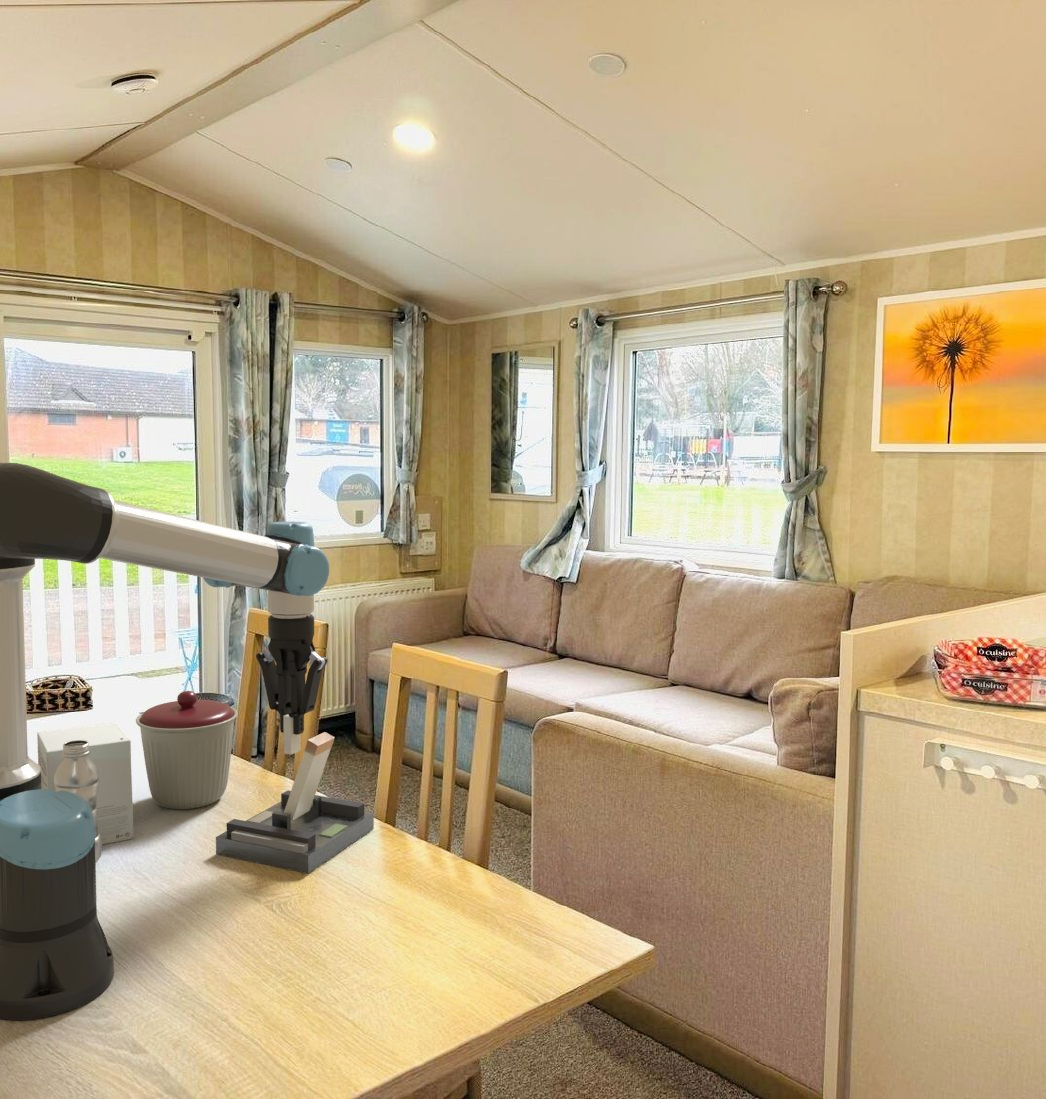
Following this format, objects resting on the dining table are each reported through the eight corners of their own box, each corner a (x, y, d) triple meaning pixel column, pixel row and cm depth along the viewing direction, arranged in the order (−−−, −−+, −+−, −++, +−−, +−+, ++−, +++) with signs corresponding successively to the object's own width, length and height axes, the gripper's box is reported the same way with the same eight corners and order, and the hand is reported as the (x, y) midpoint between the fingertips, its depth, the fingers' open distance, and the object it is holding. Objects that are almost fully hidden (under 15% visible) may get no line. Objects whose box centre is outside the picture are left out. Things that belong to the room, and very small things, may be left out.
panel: (308, 873, 154) (308, 834, 154) (216, 854, 161) (215, 816, 160) (373, 828, 173) (373, 793, 172) (288, 813, 180) (288, 778, 179)
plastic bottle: (86, 875, 153) (82, 751, 150) (47, 871, 154) (43, 747, 152) (111, 858, 159) (107, 739, 157) (74, 854, 160) (70, 736, 158)
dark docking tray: (303, 853, 155) (303, 841, 155) (221, 837, 161) (221, 825, 160) (364, 814, 172) (364, 803, 171) (287, 800, 178) (287, 790, 177)
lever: (288, 824, 163) (314, 747, 160) (278, 818, 164) (304, 741, 160) (312, 809, 170) (338, 735, 166) (303, 804, 170) (328, 730, 167)
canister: (243, 810, 181) (241, 699, 178) (138, 823, 174) (135, 707, 172) (234, 779, 197) (232, 677, 195) (137, 789, 191) (135, 683, 188)
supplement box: (119, 814, 178) (117, 720, 176) (134, 839, 167) (132, 739, 165) (39, 828, 171) (35, 731, 169) (49, 855, 160) (45, 751, 158)
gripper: (337, 614, 164) (337, 750, 167) (272, 608, 169) (273, 741, 172) (311, 620, 157) (311, 763, 160) (244, 614, 162) (246, 752, 165)
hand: (292, 751), depth 166 cm, fingers closed
